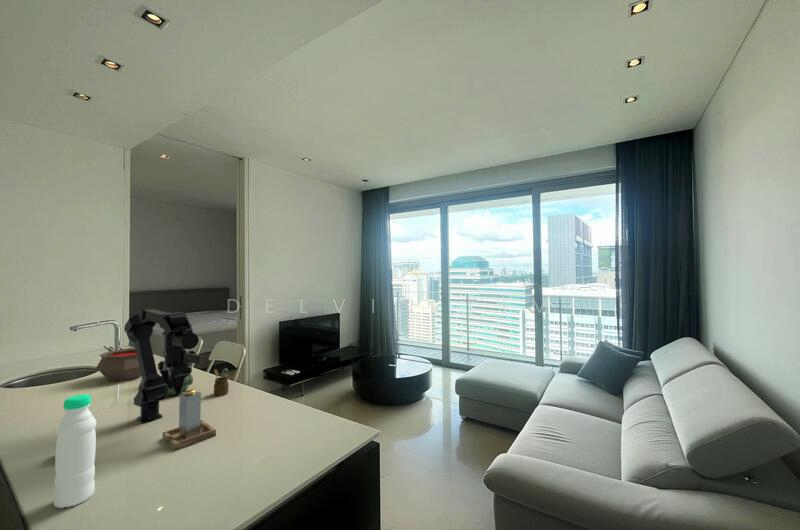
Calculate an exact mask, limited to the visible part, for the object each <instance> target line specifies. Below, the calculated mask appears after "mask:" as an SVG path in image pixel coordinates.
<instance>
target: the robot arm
mask: <svg viewBox="0 0 800 530" xmlns="http://www.w3.org/2000/svg"><path fill="white" fill-rule="evenodd" d="M156 324H159V328H161V329H162V330H163V331H162V334H161V335H162V336H163V337H164V351H162V354H163V355H164V360H160V361H159V362H158V364H157V366H156V361H155V357H154V352H153V350H152V349H153V348H152V343H151V337H152V334H153V332H154V328H155V325H156ZM192 326H193V325H192V323H191V322H190V320H189V318H188V316H187V315H186V313H185V312H183V311H182V312H166V311H161V310H158V309H156V308H143V309H140V310H138V312H137V313H136V314H134V315H133V316H131V317H129V318H128V320H127V321H126V323H125V325H124V327H123V328H124V332H125V333H126V337H127V339H128V340H130V341H131V342H132V343H133V344H134V346H135V347H134V348H136V352H137V357H138V362H139V367H140V371H141V381H140V383H139V385H138V388H137V389H138V392H137V394H136V395H135V396H134V398H133V405H135V406H137V407H140V412H139V413H140V414H139V415H140V416H137V418H136V419H137V420H138V421H139V422H140V423H141V424H143V423H148V422H150V421H154V420H157V419H161V418H163V415H162V414H161V413H160V401H164V400H166V397H167V396H166V394H167V390H168V388H169V389H173V388H174V390H175V392H176V394H175V395H178V394H179V395H180V394H181V393H180V392H181V389H182V385H183V382H184V379H185V378H186V377H187V376H188V375H190V374H192V372H193V369H192V368H193V367H192V366H191V365H189V364H187V363H191V364H195V365H200V364H201V360H202V359H203V358H202V357H203V355H201V354H196V351H195V350H192V349H194V348H196V346H198V344H199V341H200V339H199V336H198V335H197V333H195V332H194V331H193V327H192ZM187 350H188V351H187ZM158 370H159V373H160V374H159V373H158ZM167 386H168V387H167Z"/></svg>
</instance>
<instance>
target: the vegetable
mask: <svg viewBox="0 0 800 530" xmlns="http://www.w3.org/2000/svg"><path fill="white" fill-rule="evenodd" d="M193 382H194V378H193V375H192V373H190V375H188V376H187V377H186V378H185V379H184V382H183V385H182V389H181V392H180V394H183V393H185V391H186V390H188V388H189V386H191V385H193ZM167 387H168V386H167ZM170 395H171V396H173V395H177V394H176V392H175V390H174V388H173V389H169V388H168V390H167V394H166V397H171V396H170Z"/></svg>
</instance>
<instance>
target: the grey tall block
mask: <svg viewBox="0 0 800 530" xmlns="http://www.w3.org/2000/svg"><path fill="white" fill-rule="evenodd" d="M201 403H202V393H201V392H199V391H197V389H196V388H195V389H194V388H191V389H187V390H186V391H185V392H183V393H180V394H179V410H178V413H179V415H178V416H179V417H178V418H179V419H178V427H179V437H181V438H183V439H188V438H190V437H193V436H196V435H199V434H200V420H201V411H202V409H201V406H202V404H201Z"/></svg>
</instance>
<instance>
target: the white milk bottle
mask: <svg viewBox="0 0 800 530" xmlns="http://www.w3.org/2000/svg"><path fill="white" fill-rule="evenodd" d="M91 401H92V397H91V395H90V394H88V393H87V394H85V393H84V394H77V395H72V396H70V397H68V398H66V399H64V401H63V409H64V411H65V412H66V413H65V415H64V416H63V418H62V419H61V422H59V425H58V426H57V428H56V430H55V436H57V437H56V443H55V455H54V456H55V460H54V463H55V464H54V465H55V466H54V467H55V469H54V470H55V478H54V495H53V496H54V497H53V505H54V507H55V508H59V509H65V508H64V507H67V508H71V507H74V506H77V505H79V504H81V503H84V502H85V501H86V500H88V499H89V498H90V497H91V496H93V494H94V493H95V488H96V487H95V473H96V467H95V460H96V459H95V458H96V448H97V447H96V446H97V444H96V443H97V441H96V440H97V439H96V438H97V437H96V427H97V420H96V418H95V417H94V415H93V413H92V411H91V410H89V407H90V405H91ZM70 506H71V507H70Z"/></svg>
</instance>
